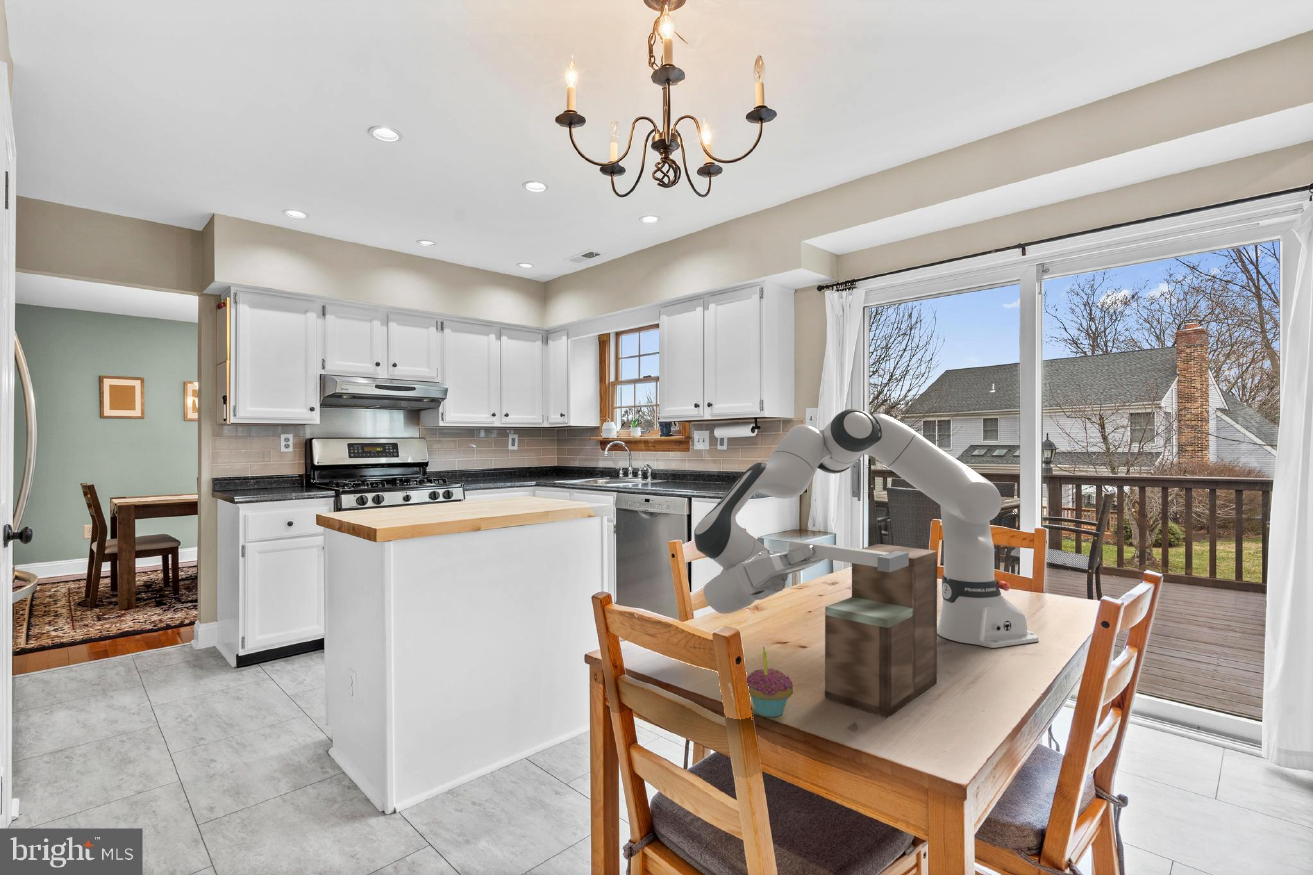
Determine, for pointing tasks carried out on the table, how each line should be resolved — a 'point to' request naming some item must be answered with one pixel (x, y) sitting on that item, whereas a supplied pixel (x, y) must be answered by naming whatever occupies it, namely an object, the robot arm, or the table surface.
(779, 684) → the cupcake
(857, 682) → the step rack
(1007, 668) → the table surface
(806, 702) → the table surface
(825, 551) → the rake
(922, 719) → the table surface
